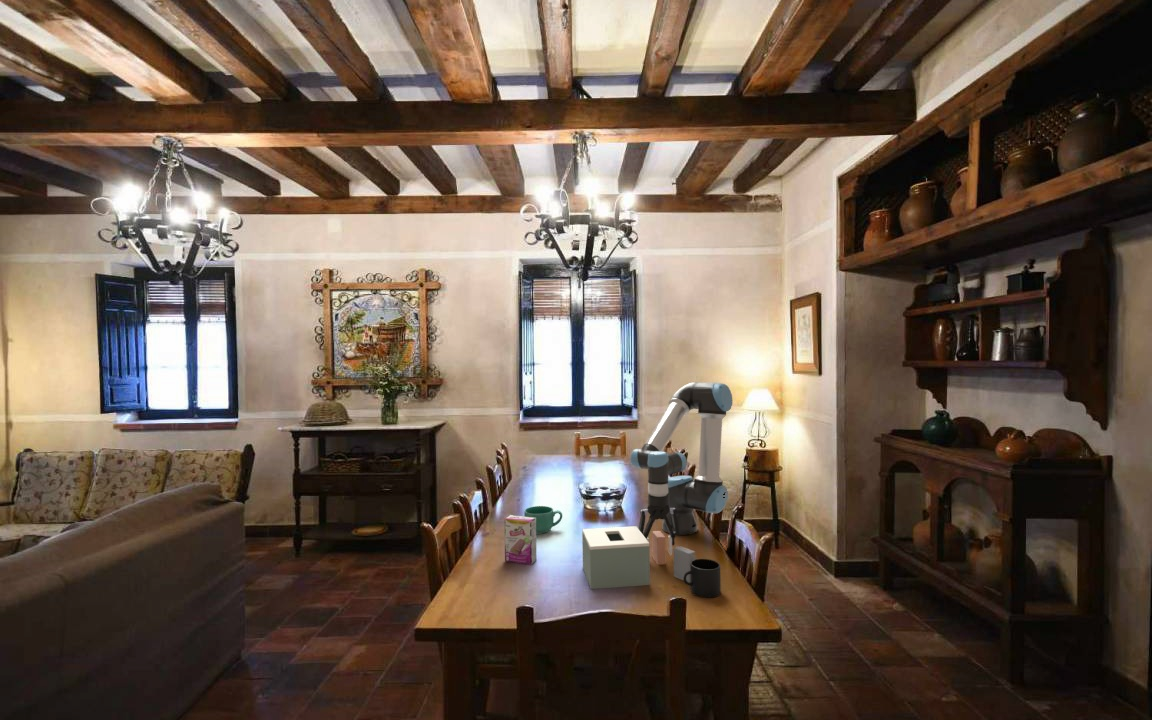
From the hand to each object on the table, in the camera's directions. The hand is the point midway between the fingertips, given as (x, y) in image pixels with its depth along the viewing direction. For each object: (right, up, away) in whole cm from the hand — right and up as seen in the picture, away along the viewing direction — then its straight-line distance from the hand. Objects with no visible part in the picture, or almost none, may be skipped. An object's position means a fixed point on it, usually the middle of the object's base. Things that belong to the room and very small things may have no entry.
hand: (658, 554), depth 202 cm
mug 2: (+10, -3, -27) cm, 29 cm away
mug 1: (-45, -3, +35) cm, 57 cm away
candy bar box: (-52, -3, +1) cm, 52 cm away
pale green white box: (-17, -3, -13) cm, 22 cm away
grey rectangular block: (+6, -2, -16) cm, 18 cm away
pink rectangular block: (0, -2, 0) cm, 2 cm away
